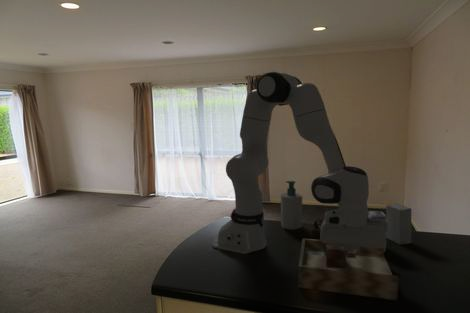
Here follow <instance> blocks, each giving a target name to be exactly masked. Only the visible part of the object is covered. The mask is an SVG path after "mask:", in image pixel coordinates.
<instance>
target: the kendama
mask: <svg viewBox="0 0 470 313" xmlns="http://www.w3.org/2000/svg"><path fill="white" fill-rule="evenodd" d="M323 221H324V220H323V219H316V220H314V221H313V222H314V223H313V226H314V227H311V239H316V240H320V231H321V225H322V222H323Z"/></svg>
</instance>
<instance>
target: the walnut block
mask: <svg viewBox="0 0 470 313" xmlns="http://www.w3.org/2000/svg"><path fill="white" fill-rule="evenodd" d="M326 266H327V267H336V268H345V269H346V251H345V249H344V246H338V245H327V244H326Z"/></svg>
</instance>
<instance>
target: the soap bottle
mask: <svg viewBox="0 0 470 313" xmlns="http://www.w3.org/2000/svg"><path fill="white" fill-rule="evenodd" d="M285 183H287V184H288V188H287V189H286V191H287V192H285V193H280V224H281V227H282V228H283V229H284V230H285V229H286V230H292V231H294V230H297V229H301V228H302V227H303V196H302V195H301V194H300V193H298V192H296V189H297V188H295V184H296V181H294V180H288V181H287V180H286V181H285Z"/></svg>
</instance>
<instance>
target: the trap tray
mask: <svg viewBox="0 0 470 313" xmlns="http://www.w3.org/2000/svg"><path fill="white" fill-rule="evenodd" d="M326 244H327V245H338V246H343V245H339V244H328V243H322V242H321V241H320V239H318V240H316V239H312V238H302V240H301V246H300V248H301V249H300V254H299V259H298V260H299V261H298V276H297V277H298V279H297V280H298V282H297V283H298V284H297V285H298V288H301V289H308V290H309V289H310V290H317V291H322V292H323V291H324V292H332V293H339V294H347V295H353V296H360V297H361V296H362V297H370V298H377V299H384V300H392V301H398V297H399V296H398V293H399V280H400V279H399V276H398V275H394V274H393V273H392V271H391V268H390V266H389V264H388V262H387V259H386V257H385V254H384V253H385V251H384V248H383V249H382V248H371V247H360V250H359V252H358V253H357V254H356V258H347V253H346V269H345V268H336V267H327V266H326ZM347 249H348V250H349V251H354V250H355V249H356V248H355V246H349V245H348V248H347Z"/></svg>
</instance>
